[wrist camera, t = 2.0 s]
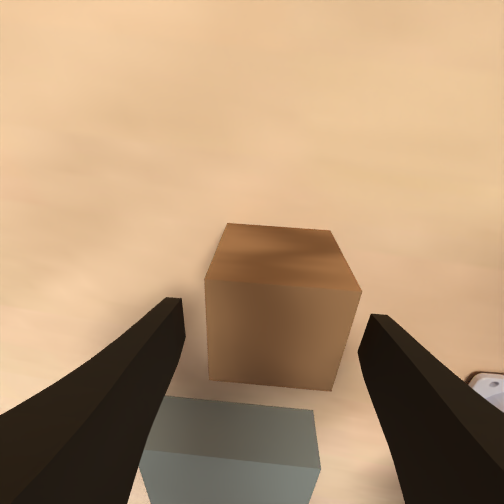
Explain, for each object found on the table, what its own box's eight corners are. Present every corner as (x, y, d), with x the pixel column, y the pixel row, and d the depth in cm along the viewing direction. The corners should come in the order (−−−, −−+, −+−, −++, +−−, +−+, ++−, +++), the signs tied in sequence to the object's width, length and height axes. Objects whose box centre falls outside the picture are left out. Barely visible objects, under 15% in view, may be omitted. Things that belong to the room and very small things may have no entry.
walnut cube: (329, 229, 12) (362, 291, 8) (313, 309, 15) (331, 391, 10) (227, 222, 13) (204, 279, 8) (227, 302, 15) (209, 380, 11)
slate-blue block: (312, 405, 19) (321, 469, 16) (292, 478, 25) (296, 537, 22) (157, 389, 20) (132, 448, 16) (172, 465, 26) (156, 520, 22)
